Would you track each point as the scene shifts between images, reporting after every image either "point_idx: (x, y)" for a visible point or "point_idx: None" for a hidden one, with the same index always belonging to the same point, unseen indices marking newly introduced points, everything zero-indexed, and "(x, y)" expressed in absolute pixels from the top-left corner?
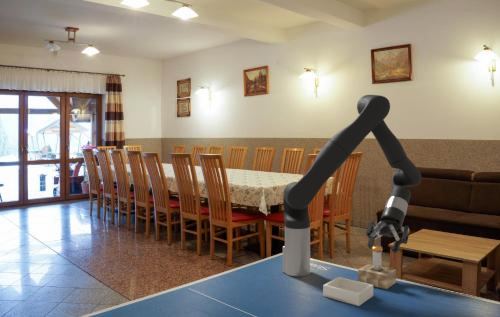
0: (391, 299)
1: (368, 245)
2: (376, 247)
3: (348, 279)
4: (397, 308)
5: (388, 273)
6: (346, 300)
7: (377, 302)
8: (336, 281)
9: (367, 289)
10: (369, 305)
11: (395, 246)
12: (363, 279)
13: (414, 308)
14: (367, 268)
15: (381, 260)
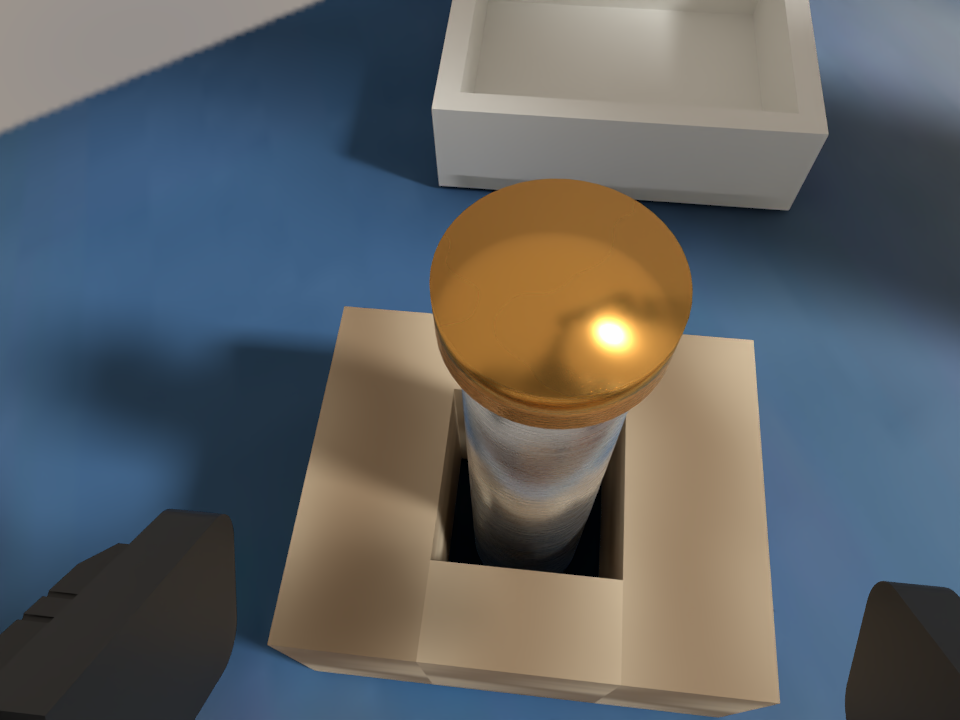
0: (285, 210)
1: (938, 587)
2: (565, 247)
3: (702, 117)
4: (218, 93)
5: (341, 394)
6: None
7: (376, 113)
8: (786, 81)
9: (448, 23)
10: (413, 50)
11: (107, 588)
12: None
13: (96, 146)
14: (671, 450)
15: (467, 440)
